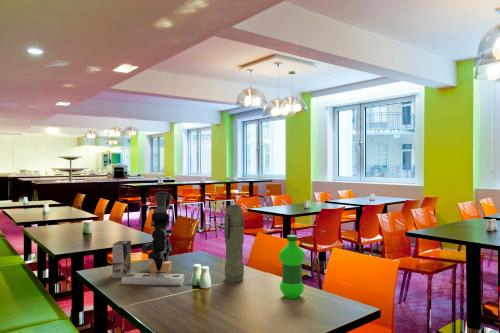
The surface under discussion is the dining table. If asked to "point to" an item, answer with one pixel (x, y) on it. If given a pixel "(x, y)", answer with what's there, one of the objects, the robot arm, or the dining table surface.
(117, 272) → the coffee box
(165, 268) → the tapered peach wedge
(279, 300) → the dining table surface
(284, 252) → the plastic bottle
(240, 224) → the thermos
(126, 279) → the rail
